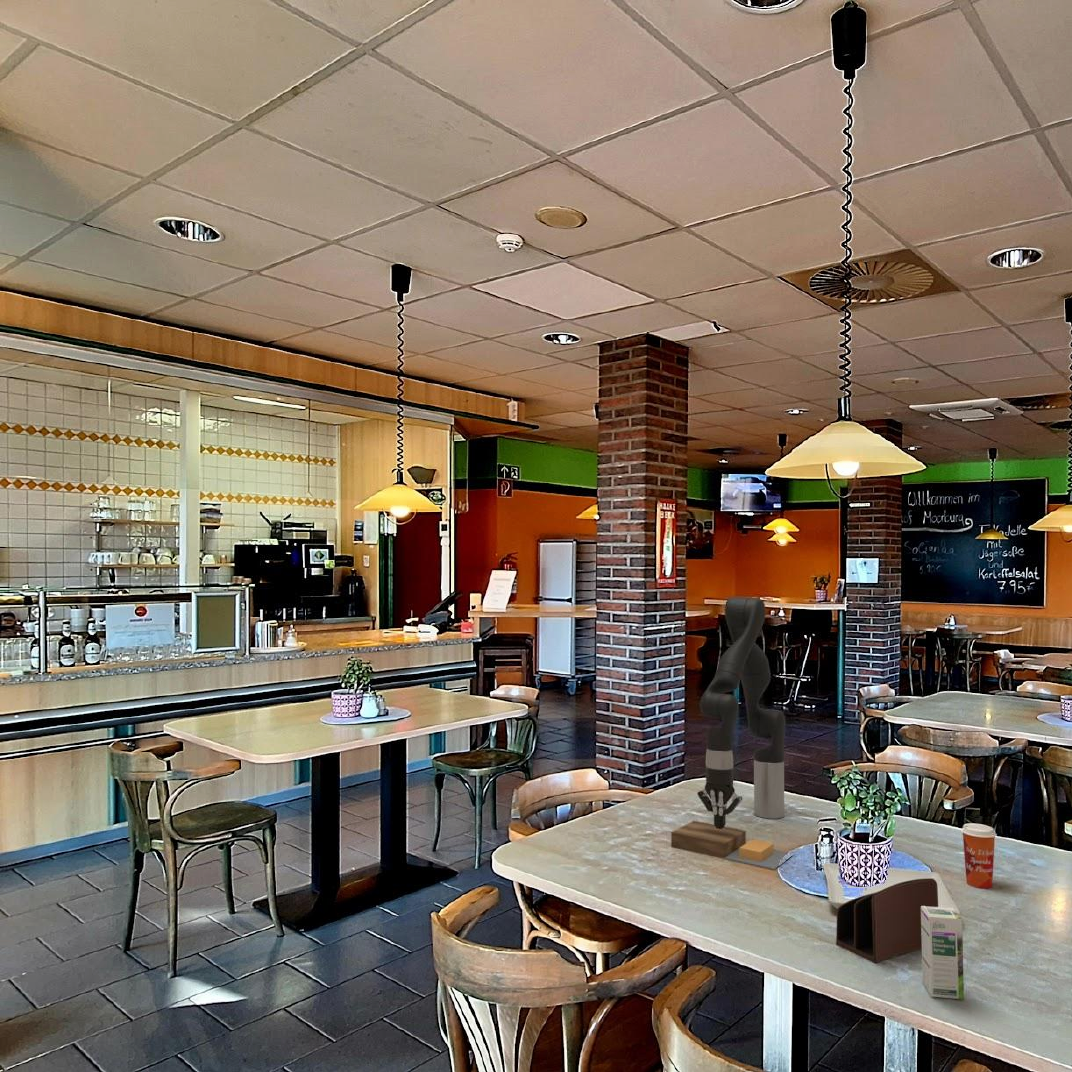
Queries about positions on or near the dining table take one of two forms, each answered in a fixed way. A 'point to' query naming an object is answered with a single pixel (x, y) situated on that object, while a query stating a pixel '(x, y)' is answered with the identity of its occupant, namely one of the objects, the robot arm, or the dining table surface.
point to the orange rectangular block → (756, 850)
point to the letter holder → (886, 920)
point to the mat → (767, 863)
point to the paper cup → (979, 854)
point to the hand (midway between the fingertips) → (719, 828)
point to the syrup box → (942, 952)
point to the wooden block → (708, 839)
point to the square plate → (884, 885)
